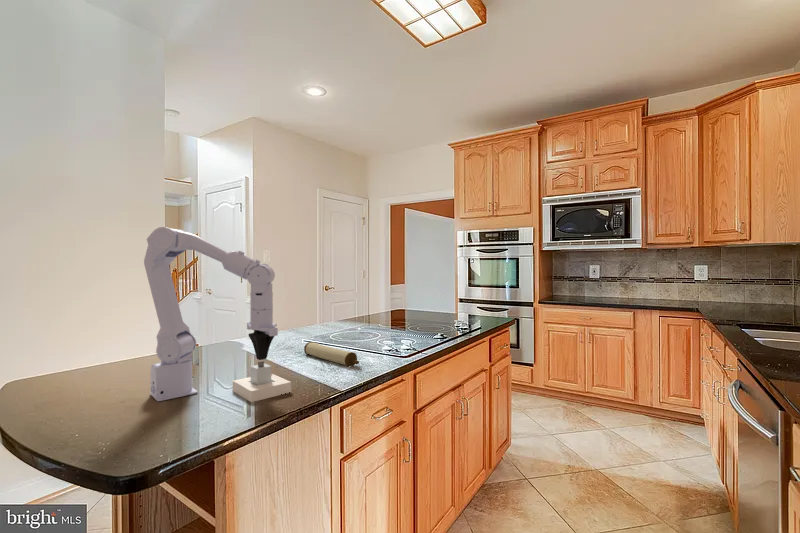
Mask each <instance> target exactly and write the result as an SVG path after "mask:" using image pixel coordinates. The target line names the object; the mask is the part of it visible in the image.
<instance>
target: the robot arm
mask: <svg viewBox="0 0 800 533" xmlns="http://www.w3.org/2000/svg"><path fill="white" fill-rule="evenodd" d="M146 241H147V242H146V243H147V248H146V252H145V256H144V259H143V265H144V269H145V273H146V278H147V280H148V284H149V289H150V292H151V295H152V300H153V304H154V308H155V311H156V316H157V319H158V323H159V330H158V332H157V334H156V341H157V343H156V344H157V345H156V348H155V349H156V350H155V353H156V356H157V357H158V359H159V360H160V362H158V363H157V362H156V363H153V364H151V368H150V392H149V395H151V397H153V398H154V399H155V401H156V402H163V401H166V400H167V401H168V400H171V399H177V398H181V397H185V396H189V395H190V396H191V395H195V394H198V392H199V391H198V390H196V389H195V388H194V387H193V354H192V353H193V352H194V351H195V349H196V347H197V339H196V338H195V336H194V335H193V334H192V332H191V331H190V327H189V326H188V325H187V324H186V323H185V322H184V321H183V316H182V312H181V309H180V304H179V301H178V296H177V293H176V288H175V285H174V281H173V277H172V273H171V268H170V266H171V264H172V262H173V261H175V259H176V258H177V257H178V256H179V255H181V254H182V253H184V252H186V251H196V252H198V253H200V254H202V255H204V256H206V257H209V258H211V259H213V260H216V261H217V262H220V263H221V265H222V266H223V269H224V270H225V271H228V272H229V273H230V274H231V273H232V274H233V275H236V276H237V277H239V278H242V279H244V280H245V281H246V280H247V281H248V283H249V284H250V301H249V302H250V304H249V305H250V312H249V313H250V315H249V316H250V322H249V321H247V322H246V330H249V331H253V332H251V333H248V335H247V336H248V337H249V339H250V341H251V343H252V347H253V349H254V353H255V357H256V359H257V360H259V361H264V360H266V359H267V358H268V353H269V350H270V346H271V344H272V342H273V340H274V338H275V337H277V336H278V334H279V331H278V330H279V329H278V326H277V323H274V320H273V318H274V317H273V315H274V314H273V313H274V312H273V311H274V310H273V309H274V308H273V306H274V303H273V300H274V298H273V296H274V293H273V282H274V280H275V276H276V275H275V271H274V269H273V268H272V267H271V266H270V265H268V264H266V263H263V264H261V260H259V259H256V260H255V259H253V258H251V257H250V256H247V255H246V254H245V252H244V251H242V250H232V251H231V250H230V251H226V250H225V249H223V248H222V247H219V246H217V245H216V244H214V243H212V242H210V241H208V240H207V239H204V238H203V237H200V236H198V235H197V234H194V233H191V232H187V231H185V230H184V229H175V228H170V227H167V226H161V227H157V228H155V229H153V231H152V232H151V233H150V234H149V235H148V236H147V238H146Z"/></svg>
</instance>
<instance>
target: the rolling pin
mask: <svg viewBox="0 0 800 533" xmlns="http://www.w3.org/2000/svg"><path fill="white" fill-rule="evenodd" d="M303 351H304V353H305V354H306V355H307V354H309V355H308V356H310V355H311V356H313V357H316V358H318V359H322V360H326V361H329V362H332V363H336V364H339V363H340V365H344V366H346V367H347V366H348V368H350V367H349V366H351V367H354V366H355V365H360V361H359V360H358V355H357V353H355V352H352V351H349V350H348V351H347V350H344V349H338V348H334V347H330V346H326V345H323V344H320V343H317V342H311V341H310V342H307V343H306V344H305V345H304V347H303ZM353 365H354V366H353Z"/></svg>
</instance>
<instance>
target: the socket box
mask: <svg viewBox="0 0 800 533" xmlns="http://www.w3.org/2000/svg"><path fill="white" fill-rule="evenodd" d="M232 392H234V393H236V394H237V395H238V396H240V397H242V398H244V399H246V400H247V401H248V402H250V403H255V402H258V401H262V400H265V399H266V400H267V399H270V398H274V397H278V396H281V394H282V395H285V393H286V394H290V393H292V381H290V380H287V379H286V378H283V377H281V376H278V375H276V374H275V373H272V372H271V383H267V384H262V385H258V386H256V385H254V384H252V383H251V376H248V377H244V378H239V379H235V380H234V379H233V380H232ZM289 392H290V393H289Z"/></svg>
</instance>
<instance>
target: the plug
mask: <svg viewBox="0 0 800 533" xmlns="http://www.w3.org/2000/svg"><path fill="white" fill-rule="evenodd" d="M271 373H272V366H271V365H270V364H267V363H265V361H264V360H259V361H257V364H254V365H250V377H251V383H252V384H254V385H256V386H258V385H262V384H267V383H271Z"/></svg>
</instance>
